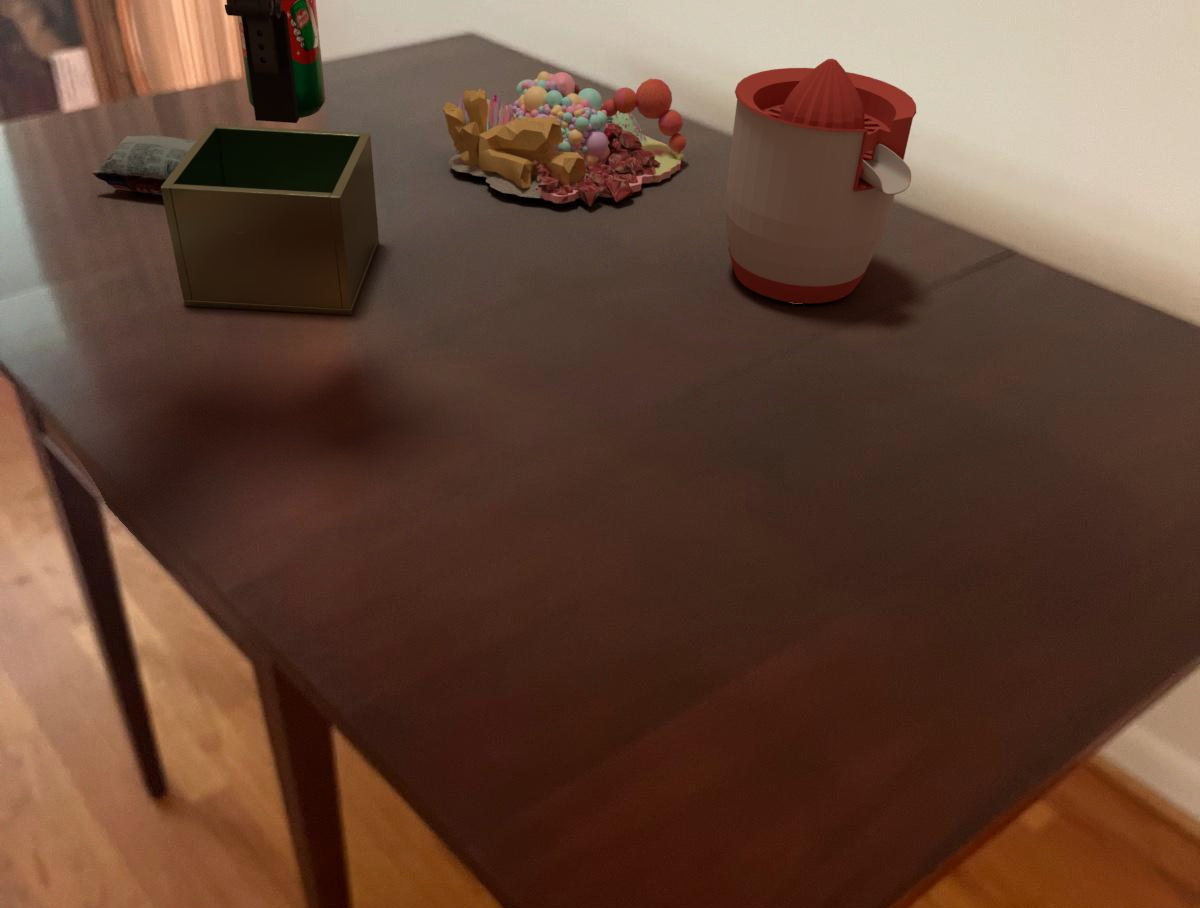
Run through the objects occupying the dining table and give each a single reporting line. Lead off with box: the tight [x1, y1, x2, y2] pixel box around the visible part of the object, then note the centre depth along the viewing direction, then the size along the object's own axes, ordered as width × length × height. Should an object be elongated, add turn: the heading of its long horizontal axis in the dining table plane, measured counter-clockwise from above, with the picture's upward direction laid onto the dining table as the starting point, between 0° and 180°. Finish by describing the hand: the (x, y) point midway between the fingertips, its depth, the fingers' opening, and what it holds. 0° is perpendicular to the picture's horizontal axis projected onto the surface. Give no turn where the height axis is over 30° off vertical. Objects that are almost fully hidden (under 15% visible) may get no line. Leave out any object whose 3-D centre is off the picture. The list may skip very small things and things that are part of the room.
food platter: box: [442, 70, 687, 207], centre depth 127 cm, size 25×24×9 cm
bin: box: [161, 123, 380, 316], centre depth 104 cm, size 15×15×11 cm
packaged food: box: [91, 134, 197, 196], centre depth 119 cm, size 9×12×5 cm
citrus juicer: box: [724, 58, 917, 305], centre depth 104 cm, size 16×17×20 cm
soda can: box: [237, 0, 326, 119], centre depth 76 cm, size 5×5×12 cm
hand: (287, 104), depth 80 cm, fingers closed on soda can, 5 cm apart
